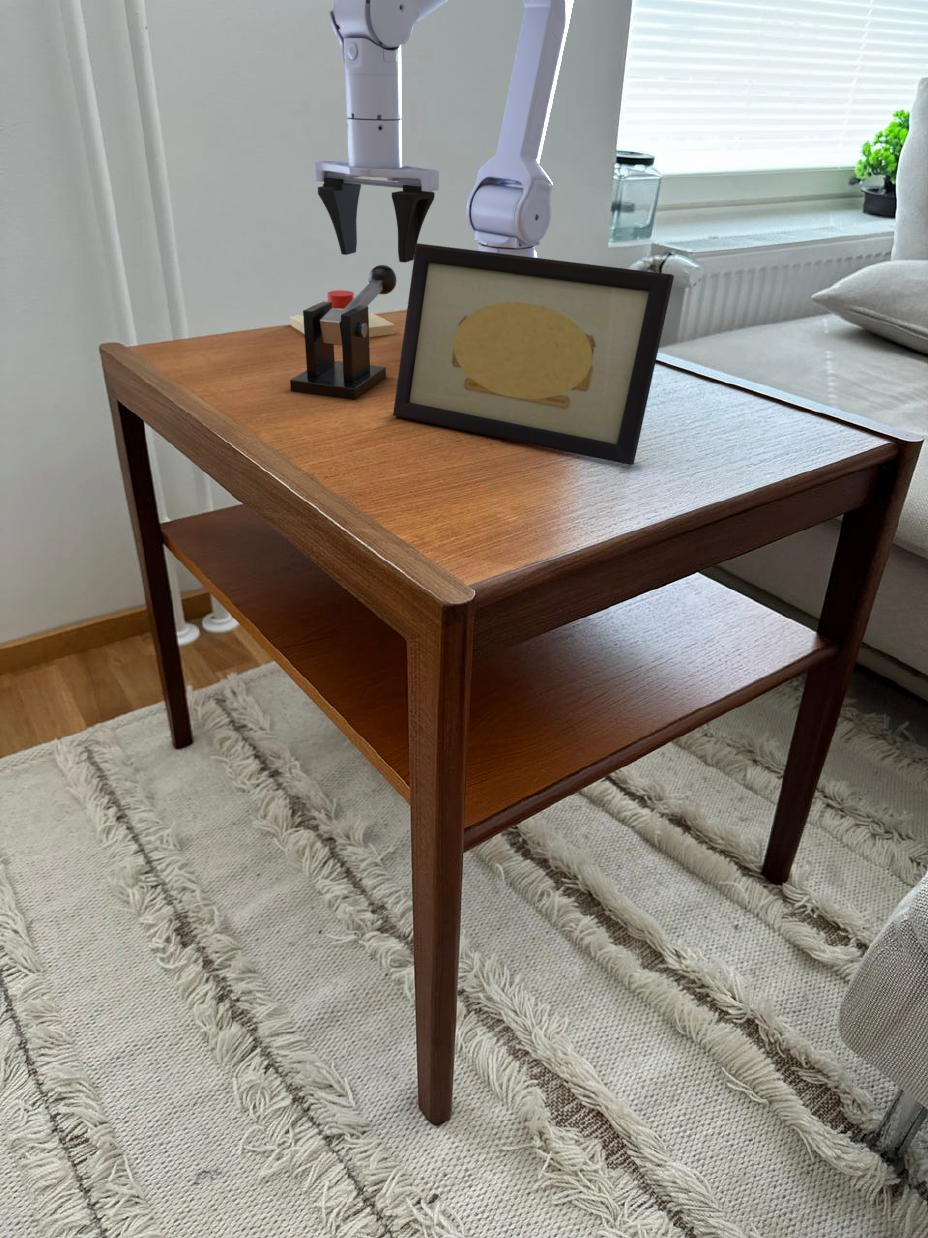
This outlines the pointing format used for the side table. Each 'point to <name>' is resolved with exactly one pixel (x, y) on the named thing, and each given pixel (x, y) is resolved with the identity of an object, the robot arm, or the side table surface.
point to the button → (340, 298)
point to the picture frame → (531, 349)
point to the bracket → (338, 375)
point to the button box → (376, 324)
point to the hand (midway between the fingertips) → (377, 257)
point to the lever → (357, 302)
